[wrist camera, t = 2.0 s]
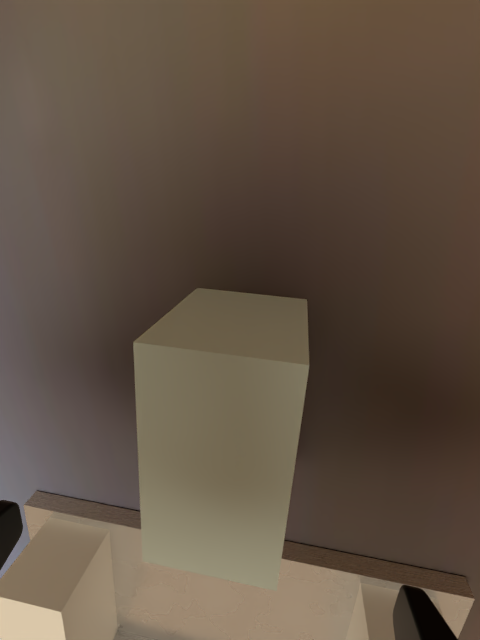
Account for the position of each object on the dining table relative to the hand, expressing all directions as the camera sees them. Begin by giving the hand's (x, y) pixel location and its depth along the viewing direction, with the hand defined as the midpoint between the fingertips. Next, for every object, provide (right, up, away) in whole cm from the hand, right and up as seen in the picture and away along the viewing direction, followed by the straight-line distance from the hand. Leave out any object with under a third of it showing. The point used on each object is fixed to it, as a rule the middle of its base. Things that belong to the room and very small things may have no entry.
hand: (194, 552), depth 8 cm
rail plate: (0, -11, +12) cm, 16 cm away
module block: (+1, +3, +8) cm, 8 cm away
